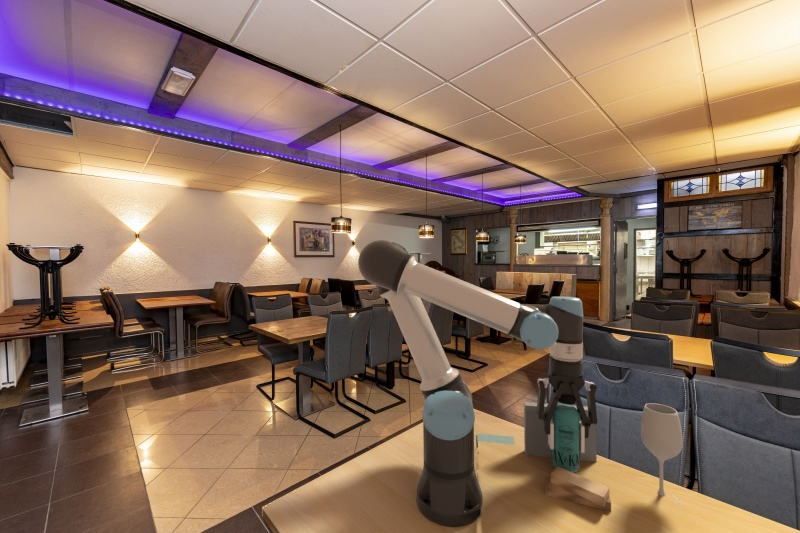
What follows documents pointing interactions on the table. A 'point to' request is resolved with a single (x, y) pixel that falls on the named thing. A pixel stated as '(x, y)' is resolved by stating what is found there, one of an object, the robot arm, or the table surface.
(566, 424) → the beverage bottle
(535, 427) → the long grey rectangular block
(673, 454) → the wineglass
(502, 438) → the mat
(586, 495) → the offcut top
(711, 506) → the table surface
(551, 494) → the offcut middle
